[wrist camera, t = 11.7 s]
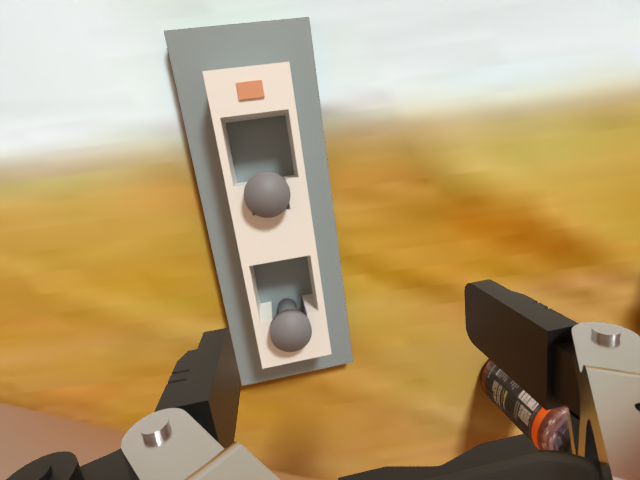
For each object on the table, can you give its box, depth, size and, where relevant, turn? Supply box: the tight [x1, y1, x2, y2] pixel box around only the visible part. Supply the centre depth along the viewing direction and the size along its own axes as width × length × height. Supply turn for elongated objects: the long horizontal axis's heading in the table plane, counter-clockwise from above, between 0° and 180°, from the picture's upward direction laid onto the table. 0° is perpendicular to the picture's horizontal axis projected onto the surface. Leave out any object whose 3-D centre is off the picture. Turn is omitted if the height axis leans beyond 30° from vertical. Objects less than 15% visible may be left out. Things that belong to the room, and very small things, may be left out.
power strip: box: [202, 62, 332, 369], centre depth 26 cm, size 5×21×4 cm, turn 8°
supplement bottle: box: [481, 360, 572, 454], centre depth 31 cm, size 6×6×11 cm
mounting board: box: [164, 17, 353, 386], centre depth 26 cm, size 10×28×6 cm, turn 8°
